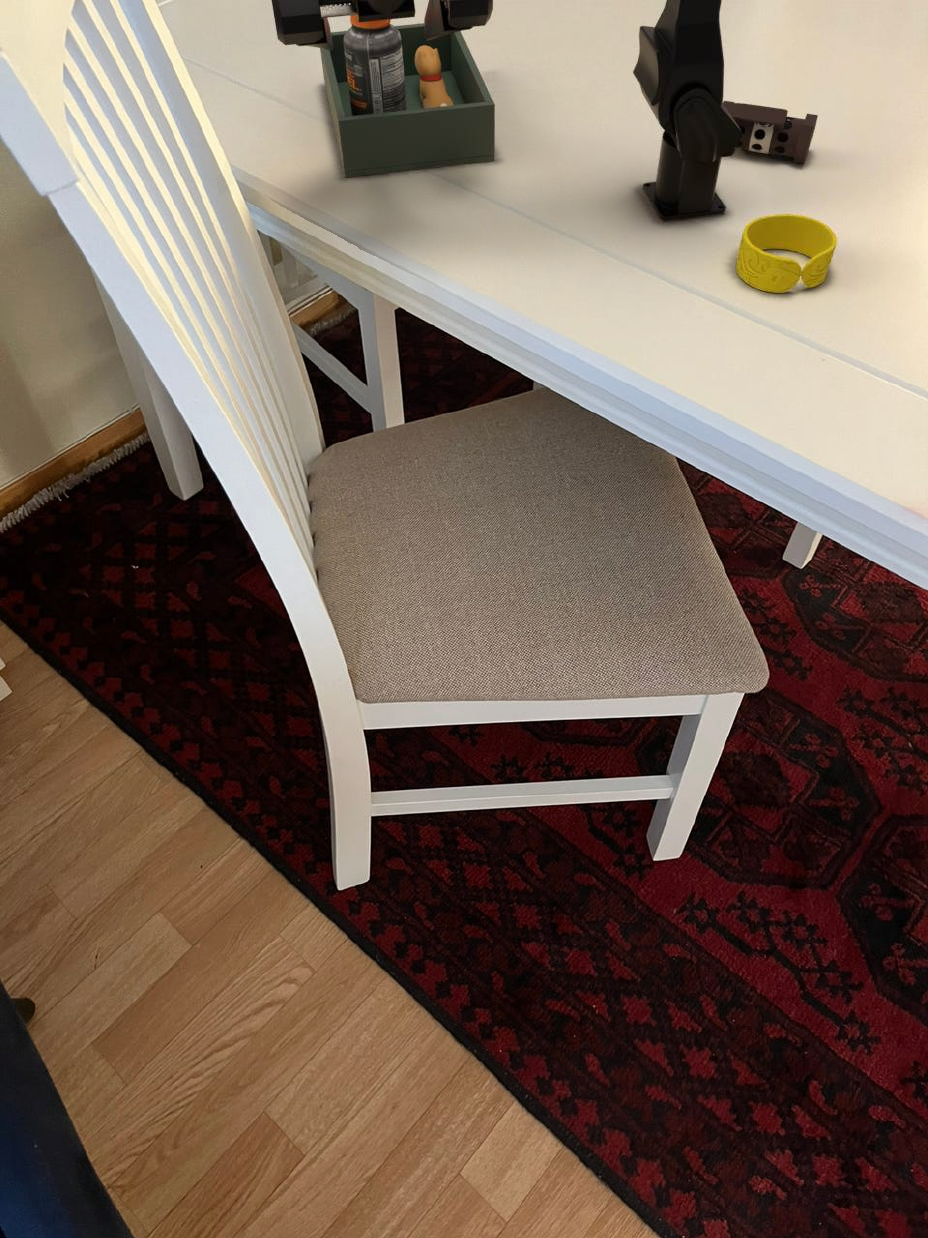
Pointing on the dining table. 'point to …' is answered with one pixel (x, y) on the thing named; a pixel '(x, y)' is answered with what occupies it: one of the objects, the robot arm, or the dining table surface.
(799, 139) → the brown bracket with holes
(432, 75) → the toy
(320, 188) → the dining table surface
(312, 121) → the dining table surface
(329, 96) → the green storage tray
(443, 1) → the robot arm
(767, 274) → the bracelet
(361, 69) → the pill bottle
